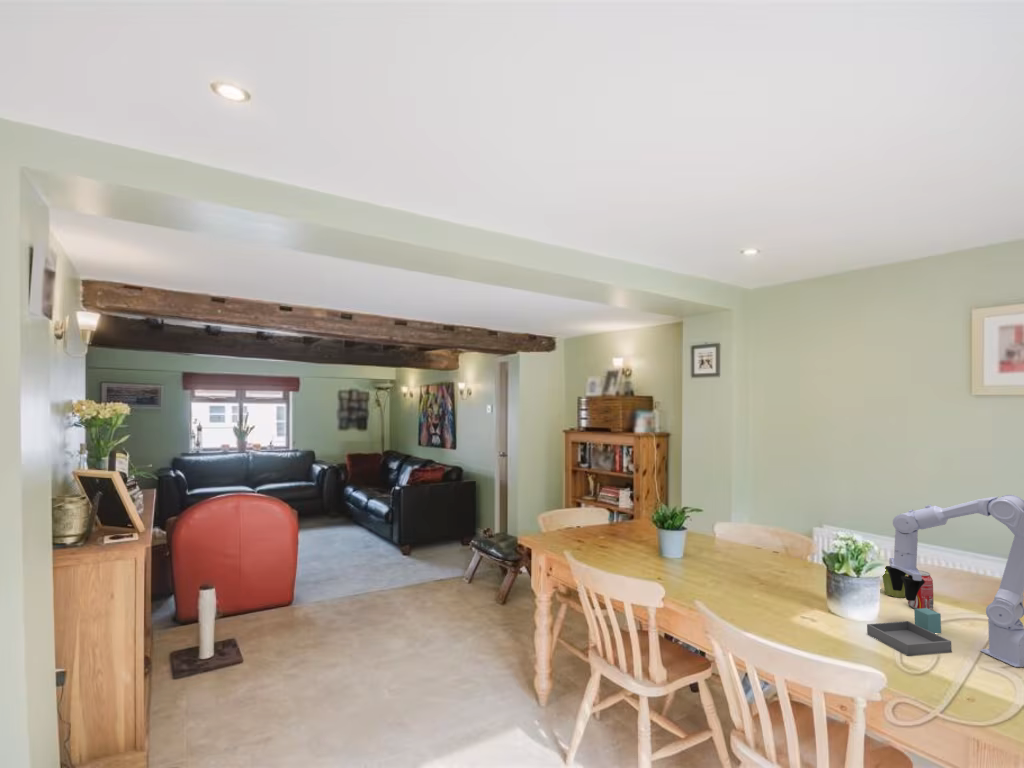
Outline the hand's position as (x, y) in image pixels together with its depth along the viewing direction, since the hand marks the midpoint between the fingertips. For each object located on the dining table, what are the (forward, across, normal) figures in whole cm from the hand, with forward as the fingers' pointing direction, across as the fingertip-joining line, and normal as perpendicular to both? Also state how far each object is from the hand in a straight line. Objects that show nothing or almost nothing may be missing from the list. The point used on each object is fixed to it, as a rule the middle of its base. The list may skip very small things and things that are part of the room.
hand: (903, 595), depth 168 cm
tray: (+10, +12, -4) cm, 16 cm away
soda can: (+10, -18, +14) cm, 25 cm away
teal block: (+10, +2, +6) cm, 12 cm away
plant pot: (+11, -30, +12) cm, 34 cm away
